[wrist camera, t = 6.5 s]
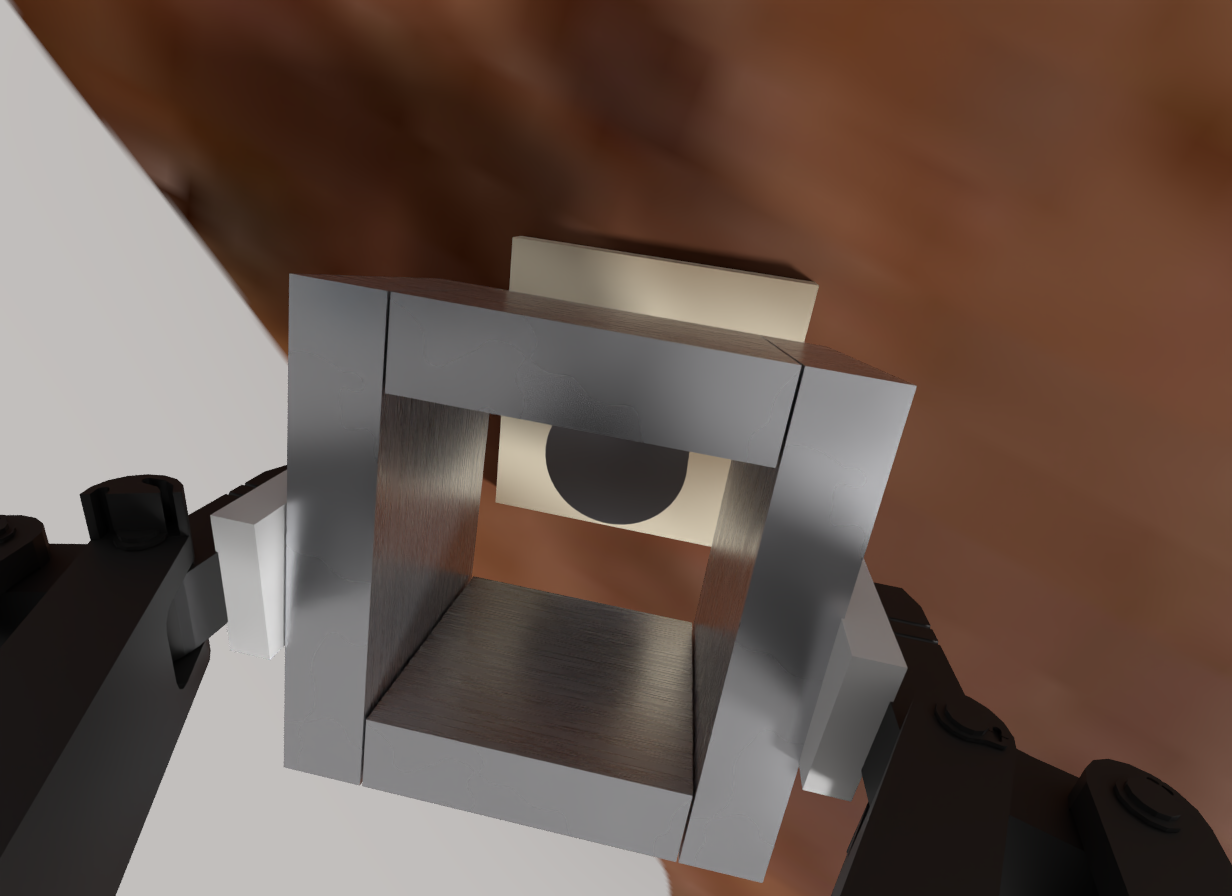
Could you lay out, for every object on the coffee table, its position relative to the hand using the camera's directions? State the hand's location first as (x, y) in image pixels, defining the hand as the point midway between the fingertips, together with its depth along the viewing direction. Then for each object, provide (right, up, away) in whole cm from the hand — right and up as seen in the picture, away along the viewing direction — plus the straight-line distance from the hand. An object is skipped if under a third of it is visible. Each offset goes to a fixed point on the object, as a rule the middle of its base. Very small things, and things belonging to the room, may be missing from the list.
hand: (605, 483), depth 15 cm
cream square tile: (+1, +3, +7) cm, 7 cm away
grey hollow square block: (0, 0, 0) cm, 0 cm away
